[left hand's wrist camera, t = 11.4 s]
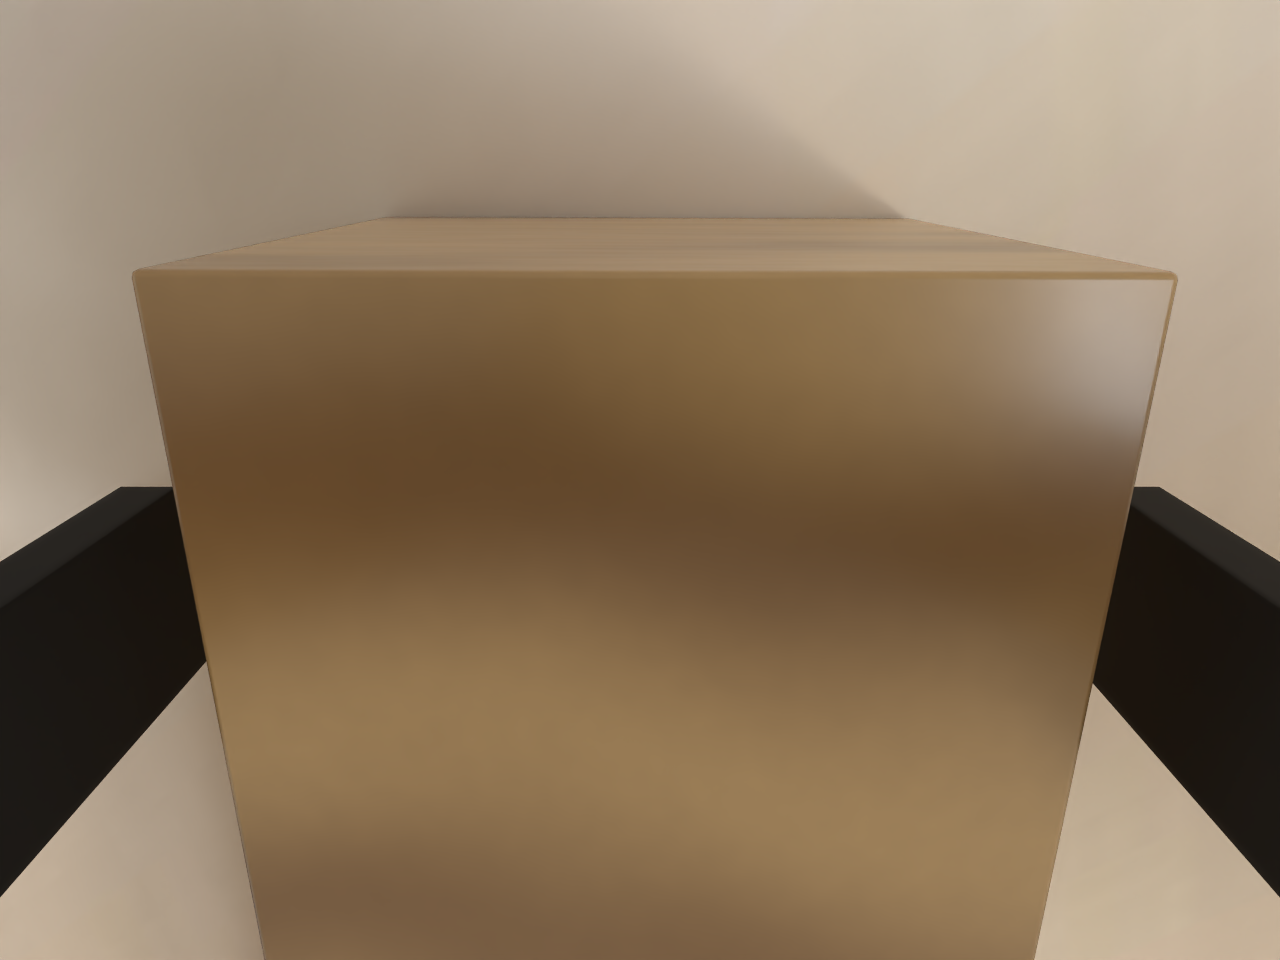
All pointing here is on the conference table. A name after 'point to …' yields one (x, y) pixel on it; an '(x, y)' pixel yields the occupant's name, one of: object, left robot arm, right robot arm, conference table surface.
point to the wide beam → (651, 576)
